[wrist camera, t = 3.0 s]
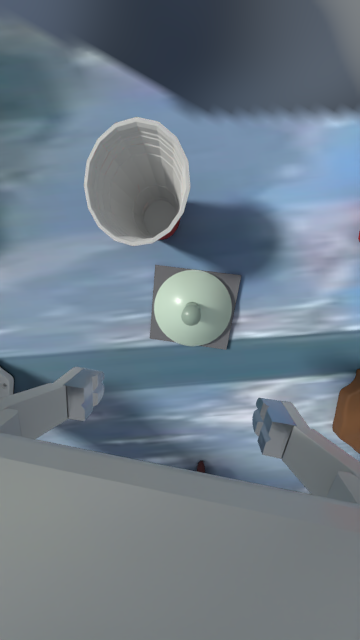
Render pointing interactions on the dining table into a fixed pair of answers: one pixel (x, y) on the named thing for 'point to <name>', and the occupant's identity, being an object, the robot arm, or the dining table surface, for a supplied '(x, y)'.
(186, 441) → the dining table surface
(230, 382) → the dining table surface
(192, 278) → the lid
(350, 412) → the plant
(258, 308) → the dining table surface
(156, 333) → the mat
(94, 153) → the plastic cup
